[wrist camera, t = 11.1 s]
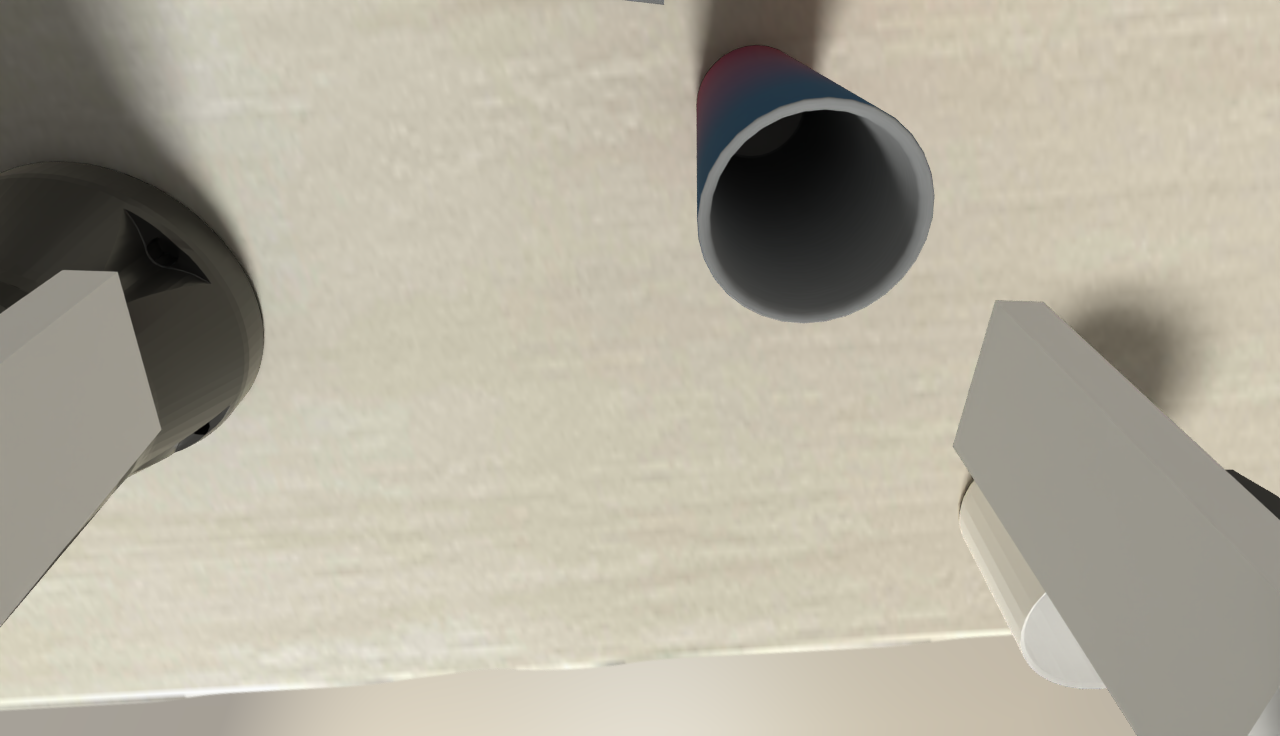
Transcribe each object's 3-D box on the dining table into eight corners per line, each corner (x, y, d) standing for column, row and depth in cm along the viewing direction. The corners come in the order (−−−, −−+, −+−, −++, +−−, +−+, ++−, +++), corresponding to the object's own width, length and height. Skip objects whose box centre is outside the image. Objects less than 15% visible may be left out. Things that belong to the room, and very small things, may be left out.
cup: (695, 7, 35) (730, 73, 22) (850, 40, 36) (972, 124, 23) (662, 164, 38) (674, 302, 25) (803, 192, 39) (887, 341, 26)
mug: (1082, 567, 51) (1166, 695, 43) (937, 555, 50) (995, 682, 42) (1164, 401, 45) (1280, 513, 37) (1001, 386, 44) (1083, 496, 36)
